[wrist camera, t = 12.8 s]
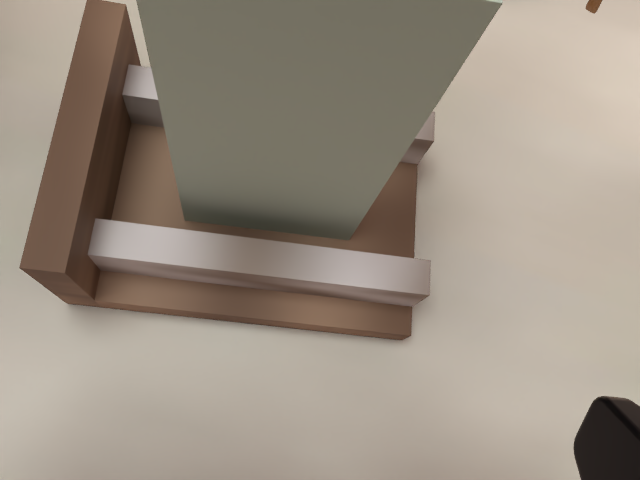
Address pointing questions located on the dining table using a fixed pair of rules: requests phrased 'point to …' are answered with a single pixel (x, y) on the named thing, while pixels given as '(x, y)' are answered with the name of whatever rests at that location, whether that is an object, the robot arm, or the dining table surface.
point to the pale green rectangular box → (299, 101)
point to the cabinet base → (196, 237)
